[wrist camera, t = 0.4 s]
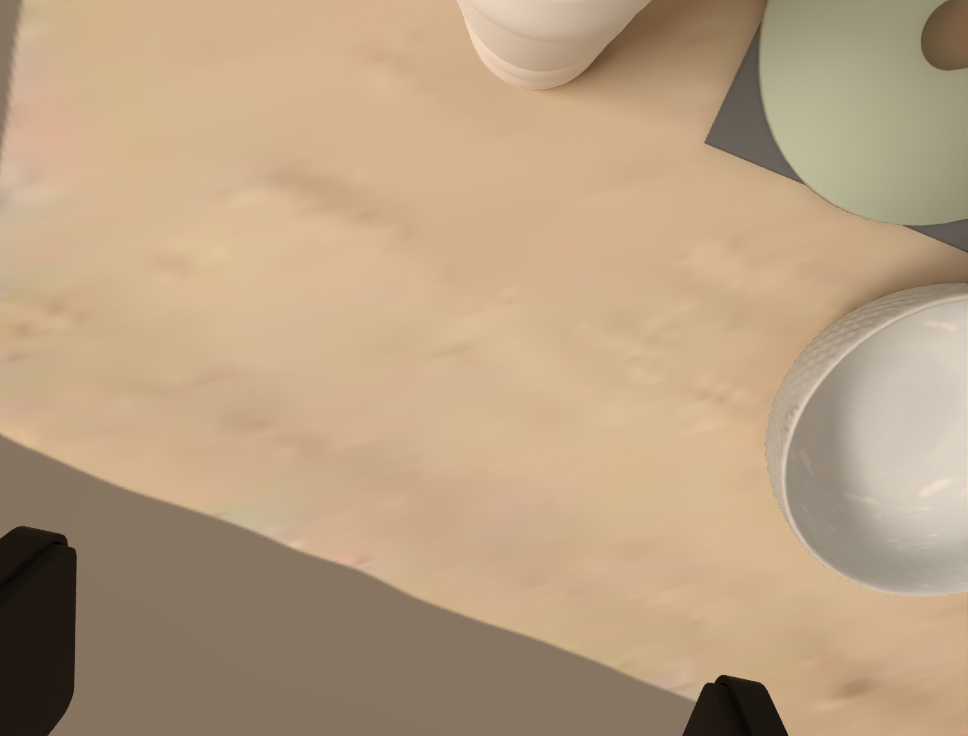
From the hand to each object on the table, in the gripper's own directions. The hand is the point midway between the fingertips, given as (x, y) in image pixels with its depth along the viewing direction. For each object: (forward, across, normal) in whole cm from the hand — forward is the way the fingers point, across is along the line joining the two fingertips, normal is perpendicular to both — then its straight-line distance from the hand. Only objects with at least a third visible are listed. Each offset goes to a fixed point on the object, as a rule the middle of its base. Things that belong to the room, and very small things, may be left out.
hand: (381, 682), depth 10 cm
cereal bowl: (+30, -25, +2) cm, 39 cm away
